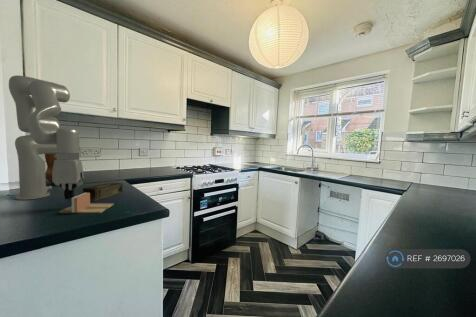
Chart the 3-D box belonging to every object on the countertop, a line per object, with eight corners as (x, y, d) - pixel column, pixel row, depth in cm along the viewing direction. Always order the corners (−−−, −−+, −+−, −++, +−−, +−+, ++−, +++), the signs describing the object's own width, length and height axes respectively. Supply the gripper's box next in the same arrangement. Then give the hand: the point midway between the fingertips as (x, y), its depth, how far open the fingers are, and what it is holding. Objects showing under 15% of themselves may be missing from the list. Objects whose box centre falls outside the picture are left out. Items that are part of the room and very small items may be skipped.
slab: (85, 205, 92) (85, 192, 92) (90, 205, 93) (89, 192, 92) (71, 212, 83) (71, 198, 83) (77, 212, 84) (76, 198, 83)
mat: (77, 204, 95) (77, 203, 95) (114, 204, 97) (114, 203, 97) (58, 213, 83) (58, 211, 83) (100, 213, 85) (100, 211, 85)
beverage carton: (123, 193, 120) (123, 182, 119) (94, 202, 101) (94, 189, 100) (111, 191, 121) (111, 181, 121) (81, 200, 102) (81, 187, 102)
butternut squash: (47, 183, 136) (46, 146, 134) (72, 181, 144) (72, 146, 142) (43, 187, 124) (42, 146, 123) (71, 185, 133) (71, 147, 131)
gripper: (42, 157, 83) (43, 200, 84) (81, 158, 85) (82, 200, 86) (56, 155, 90) (57, 196, 92) (92, 156, 92) (92, 196, 94)
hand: (69, 198), depth 89 cm, fingers closed
